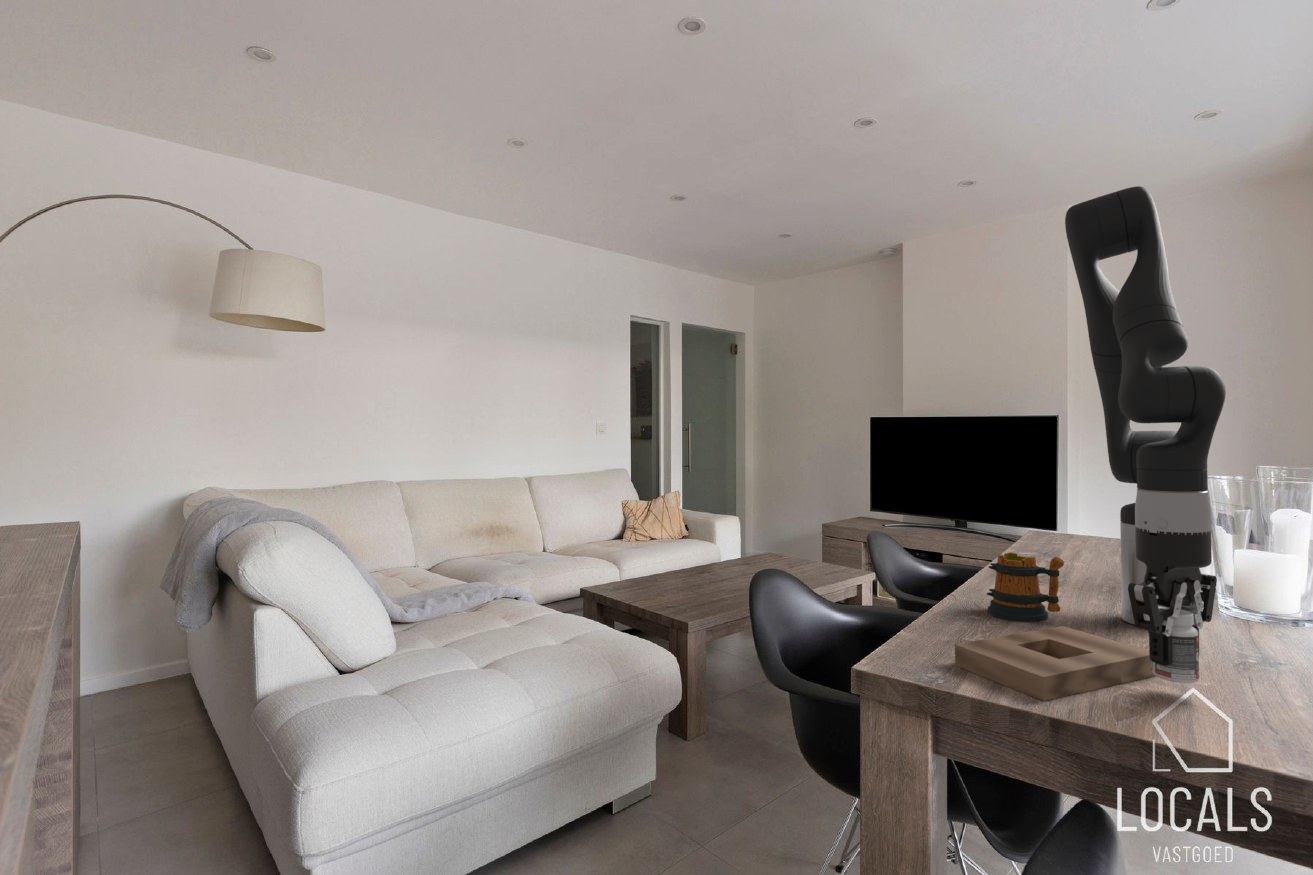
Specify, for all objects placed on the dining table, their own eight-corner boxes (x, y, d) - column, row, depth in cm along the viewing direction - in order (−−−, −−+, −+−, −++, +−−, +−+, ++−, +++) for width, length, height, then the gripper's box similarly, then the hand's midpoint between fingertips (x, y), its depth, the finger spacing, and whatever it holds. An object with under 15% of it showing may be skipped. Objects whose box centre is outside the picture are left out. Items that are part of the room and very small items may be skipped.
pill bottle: (1208, 685, 80) (1207, 616, 80) (1164, 683, 81) (1163, 615, 81) (1184, 670, 85) (1183, 606, 84) (1143, 669, 86) (1142, 605, 85)
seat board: (1063, 645, 103) (1062, 625, 102) (1159, 675, 89) (1159, 653, 89) (955, 664, 95) (954, 644, 95) (1043, 701, 82) (1043, 676, 81)
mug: (975, 613, 121) (974, 551, 121) (1002, 604, 127) (1001, 545, 127) (1052, 629, 111) (1051, 561, 111) (1077, 618, 117) (1076, 554, 117)
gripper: (1175, 517, 89) (1177, 643, 89) (1103, 526, 83) (1106, 659, 84) (1241, 524, 82) (1244, 660, 82) (1168, 534, 76) (1171, 680, 77)
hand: (1174, 659), depth 83 cm, fingers closed on pill bottle, 4 cm apart
